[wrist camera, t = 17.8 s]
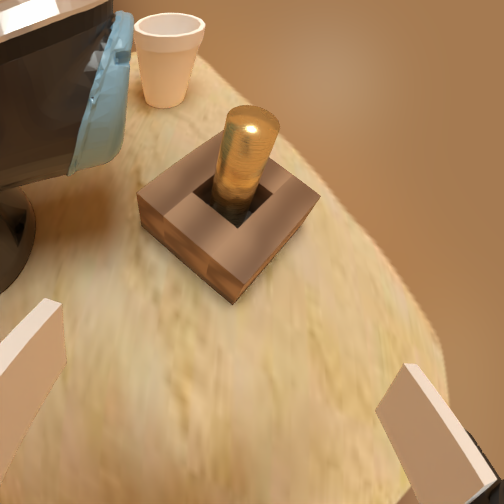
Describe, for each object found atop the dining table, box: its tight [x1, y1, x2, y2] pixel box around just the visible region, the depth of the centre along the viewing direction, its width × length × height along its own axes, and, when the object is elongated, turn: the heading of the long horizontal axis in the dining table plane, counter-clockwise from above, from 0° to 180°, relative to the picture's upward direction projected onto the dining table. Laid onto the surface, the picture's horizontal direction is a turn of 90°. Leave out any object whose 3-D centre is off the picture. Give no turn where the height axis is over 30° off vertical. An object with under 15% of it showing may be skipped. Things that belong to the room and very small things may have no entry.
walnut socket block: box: [137, 130, 321, 305], centre depth 32 cm, size 13×13×6 cm
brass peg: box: [209, 105, 280, 228], centre depth 28 cm, size 4×4×14 cm
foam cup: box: [134, 13, 205, 108], centre depth 37 cm, size 10×9×13 cm
